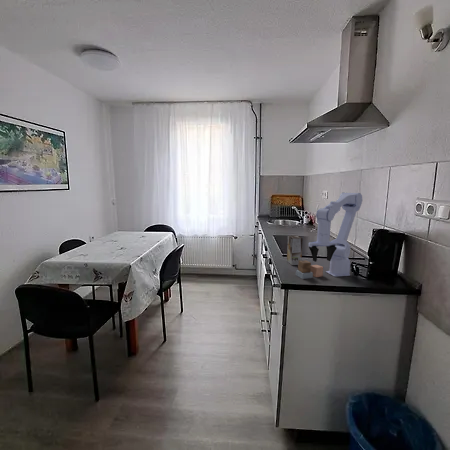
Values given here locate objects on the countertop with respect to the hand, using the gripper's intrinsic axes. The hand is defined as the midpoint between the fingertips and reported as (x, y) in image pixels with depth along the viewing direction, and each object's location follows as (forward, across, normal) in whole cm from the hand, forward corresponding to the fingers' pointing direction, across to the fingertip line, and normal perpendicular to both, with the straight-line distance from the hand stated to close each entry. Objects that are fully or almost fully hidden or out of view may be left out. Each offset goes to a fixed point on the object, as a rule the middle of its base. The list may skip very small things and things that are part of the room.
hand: (321, 260), depth 130 cm
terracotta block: (+10, -2, -7) cm, 12 cm away
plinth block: (+10, +5, -7) cm, 13 cm away
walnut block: (+7, +5, -7) cm, 11 cm away
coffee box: (+10, -1, -30) cm, 32 cm away
